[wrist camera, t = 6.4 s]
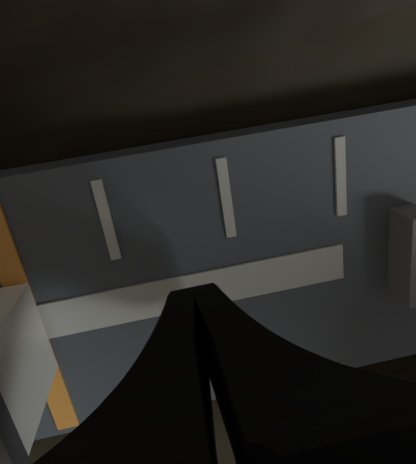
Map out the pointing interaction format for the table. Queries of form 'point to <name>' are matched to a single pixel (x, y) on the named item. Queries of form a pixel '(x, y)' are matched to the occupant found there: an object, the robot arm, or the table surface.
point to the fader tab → (22, 372)
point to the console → (219, 243)
